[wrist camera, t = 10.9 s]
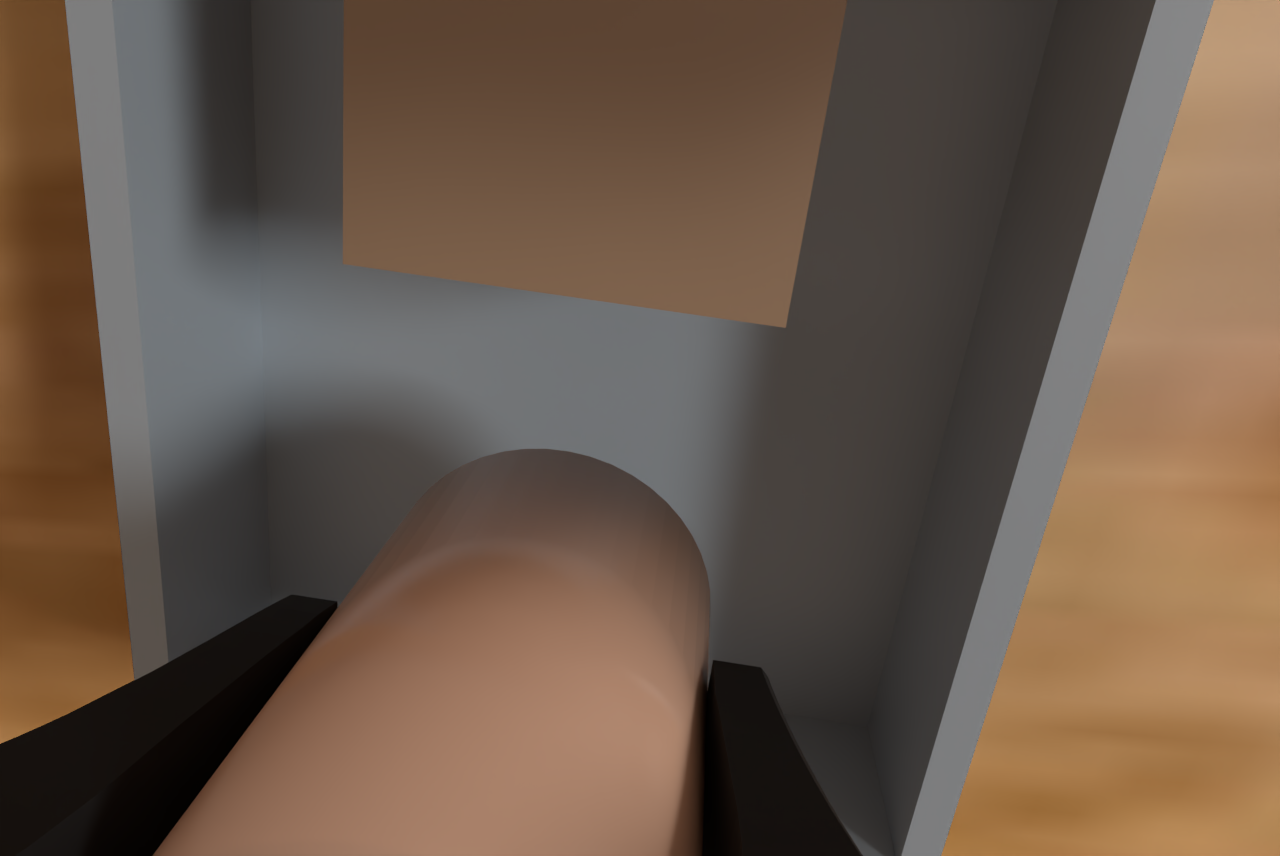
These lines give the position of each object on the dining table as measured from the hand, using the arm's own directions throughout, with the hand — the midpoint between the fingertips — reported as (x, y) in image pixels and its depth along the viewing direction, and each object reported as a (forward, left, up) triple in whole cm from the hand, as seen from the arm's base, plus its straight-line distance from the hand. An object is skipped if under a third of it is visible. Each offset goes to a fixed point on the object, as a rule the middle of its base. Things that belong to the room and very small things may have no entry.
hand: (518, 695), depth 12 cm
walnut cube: (+8, 0, -5) cm, 9 cm away
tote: (+4, 0, -6) cm, 7 cm away
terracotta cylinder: (0, 0, -2) cm, 2 cm away
